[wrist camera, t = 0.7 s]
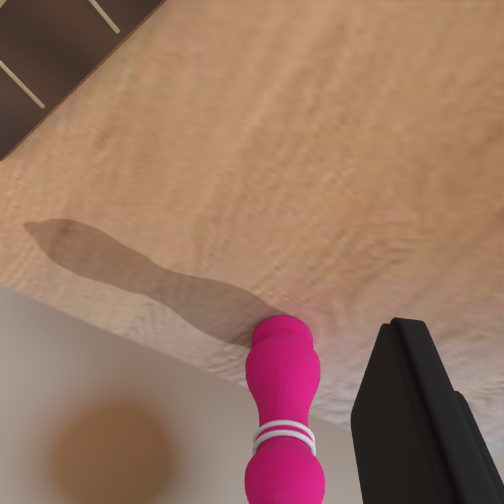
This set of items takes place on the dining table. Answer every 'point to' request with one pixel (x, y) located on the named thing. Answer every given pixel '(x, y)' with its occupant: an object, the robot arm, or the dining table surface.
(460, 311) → the dining table surface
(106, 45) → the board
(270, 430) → the pepper mill
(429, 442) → the robot arm
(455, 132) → the dining table surface
